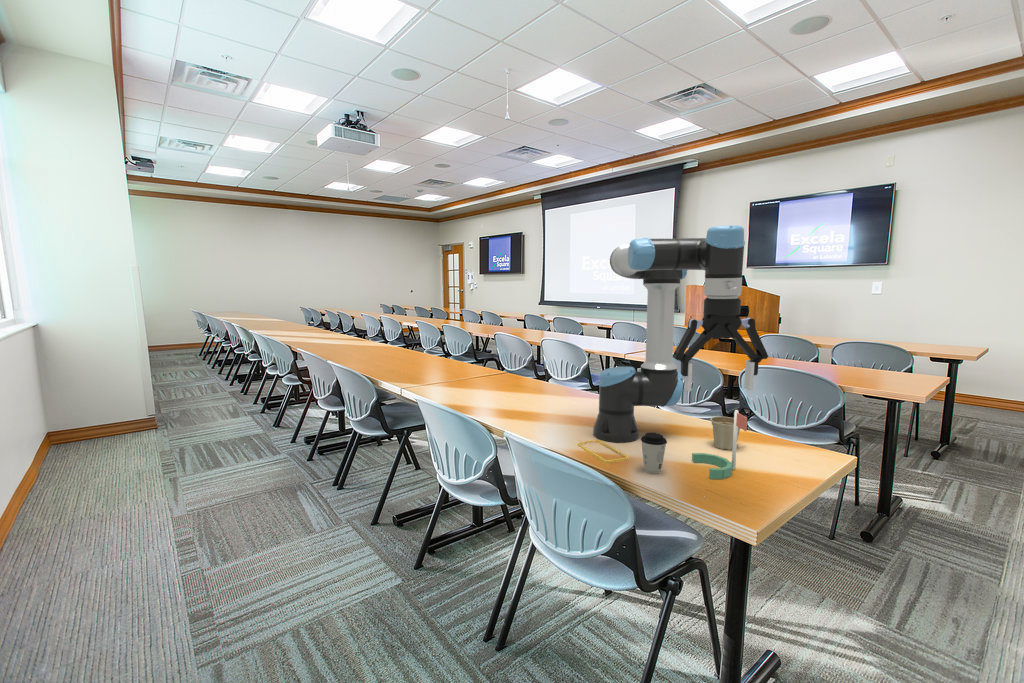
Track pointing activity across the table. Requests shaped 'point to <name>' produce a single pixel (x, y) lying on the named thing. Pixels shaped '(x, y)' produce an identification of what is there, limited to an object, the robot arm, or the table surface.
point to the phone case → (601, 457)
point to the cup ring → (715, 460)
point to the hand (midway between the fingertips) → (718, 389)
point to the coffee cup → (653, 452)
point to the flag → (738, 422)
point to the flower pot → (723, 432)
